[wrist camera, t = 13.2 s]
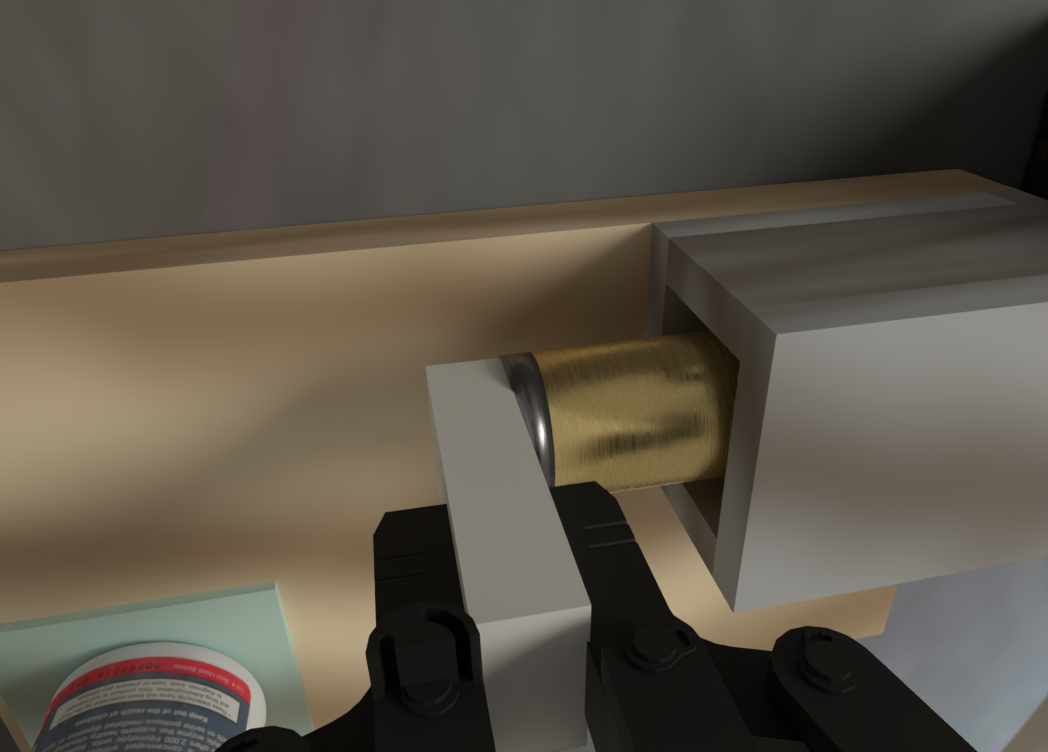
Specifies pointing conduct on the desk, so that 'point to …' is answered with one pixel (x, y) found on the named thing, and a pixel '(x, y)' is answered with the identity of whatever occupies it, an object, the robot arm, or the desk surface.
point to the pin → (628, 409)
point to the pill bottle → (152, 702)
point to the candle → (1039, 165)
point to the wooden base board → (485, 333)
